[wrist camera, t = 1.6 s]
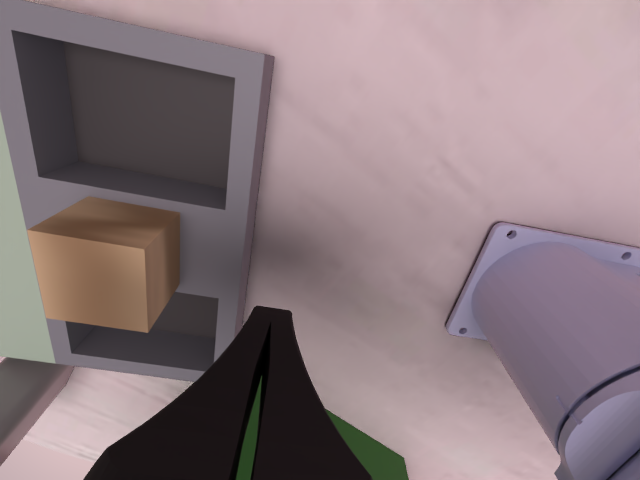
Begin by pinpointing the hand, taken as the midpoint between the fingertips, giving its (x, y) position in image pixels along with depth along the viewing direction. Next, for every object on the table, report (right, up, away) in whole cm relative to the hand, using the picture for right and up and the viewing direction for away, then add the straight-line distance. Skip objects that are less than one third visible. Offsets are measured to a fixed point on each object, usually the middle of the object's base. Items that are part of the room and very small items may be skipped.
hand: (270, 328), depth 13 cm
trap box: (-10, +5, +6) cm, 12 cm away
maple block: (-7, +3, +3) cm, 8 cm away
